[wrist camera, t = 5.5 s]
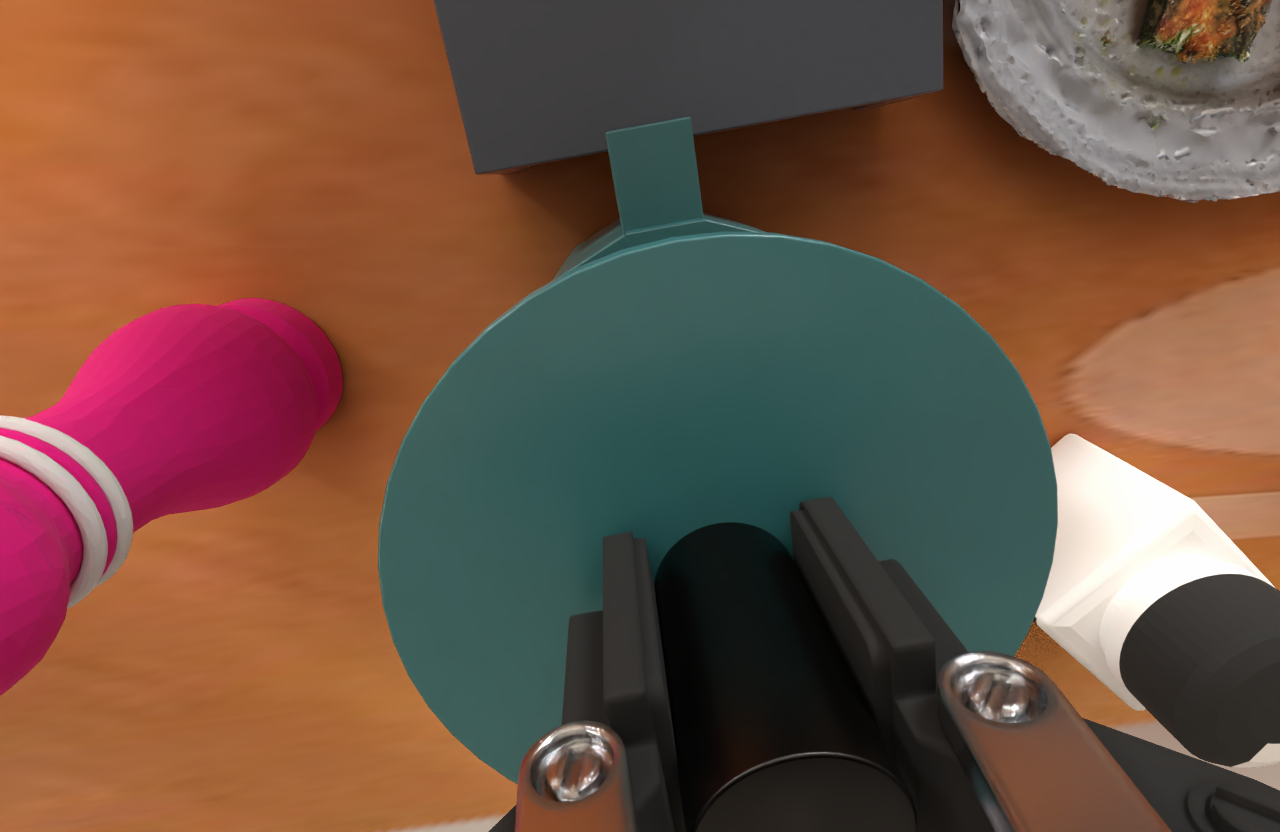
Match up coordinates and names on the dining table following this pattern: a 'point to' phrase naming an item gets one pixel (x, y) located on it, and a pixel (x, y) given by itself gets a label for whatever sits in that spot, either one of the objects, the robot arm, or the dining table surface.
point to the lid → (714, 507)
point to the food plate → (1138, 88)
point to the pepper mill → (150, 449)
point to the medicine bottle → (1163, 608)
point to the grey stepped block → (673, 66)
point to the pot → (652, 192)
